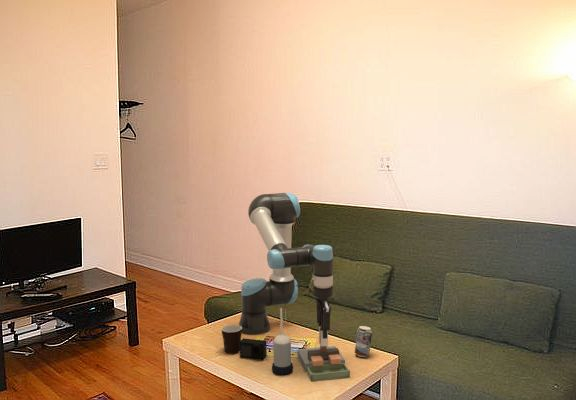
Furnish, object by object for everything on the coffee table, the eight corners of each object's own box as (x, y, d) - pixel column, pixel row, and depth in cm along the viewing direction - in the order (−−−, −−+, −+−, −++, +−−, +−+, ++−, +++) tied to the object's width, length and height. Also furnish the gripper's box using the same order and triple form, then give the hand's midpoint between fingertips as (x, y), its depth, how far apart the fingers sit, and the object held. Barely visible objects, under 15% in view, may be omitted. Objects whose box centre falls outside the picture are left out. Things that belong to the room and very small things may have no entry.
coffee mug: (239, 356, 212) (238, 332, 211) (219, 354, 213) (218, 331, 212) (246, 345, 223) (246, 323, 222) (228, 343, 225) (227, 321, 224)
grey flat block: (297, 357, 209) (297, 349, 209) (334, 353, 212) (334, 345, 212) (305, 372, 196) (305, 363, 195) (345, 368, 199) (345, 359, 198)
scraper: (307, 357, 200) (307, 325, 198) (337, 354, 202) (337, 323, 201) (309, 361, 197) (309, 328, 195) (339, 358, 199) (339, 326, 198)
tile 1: (310, 361, 197) (310, 356, 197) (320, 360, 198) (320, 355, 198) (313, 366, 193) (313, 361, 193) (323, 365, 194) (323, 360, 194)
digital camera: (238, 359, 209) (238, 342, 208) (243, 353, 214) (242, 337, 213) (262, 362, 206) (262, 345, 205) (266, 356, 211) (266, 340, 210)
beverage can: (351, 356, 210) (351, 328, 209) (362, 350, 216) (362, 323, 214) (364, 360, 206) (364, 331, 205) (374, 354, 211) (374, 326, 210)
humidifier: (275, 365, 202) (274, 304, 199) (295, 368, 200) (295, 306, 197) (268, 374, 195) (267, 311, 192) (289, 377, 192) (288, 313, 189)
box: (306, 372, 195) (306, 366, 195) (344, 369, 198) (344, 362, 198) (311, 381, 189) (311, 374, 188) (350, 377, 191) (349, 370, 191)
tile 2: (328, 359, 198) (328, 355, 198) (338, 358, 199) (338, 354, 199) (331, 364, 195) (331, 359, 194) (341, 363, 195) (341, 358, 195)
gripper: (308, 281, 203) (309, 338, 206) (318, 291, 188) (319, 353, 191) (327, 279, 204) (327, 336, 207) (338, 290, 190) (338, 351, 192)
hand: (323, 344), depth 199 cm, fingers closed on scraper, 2 cm apart
